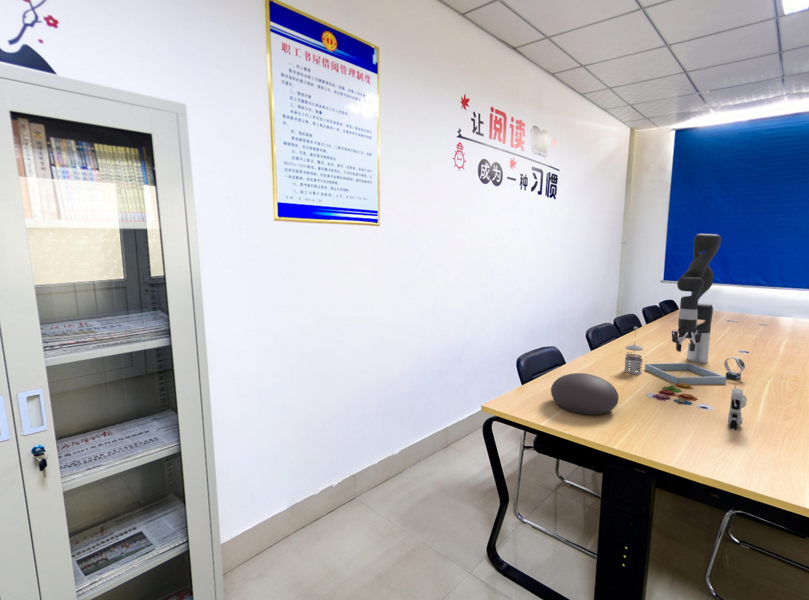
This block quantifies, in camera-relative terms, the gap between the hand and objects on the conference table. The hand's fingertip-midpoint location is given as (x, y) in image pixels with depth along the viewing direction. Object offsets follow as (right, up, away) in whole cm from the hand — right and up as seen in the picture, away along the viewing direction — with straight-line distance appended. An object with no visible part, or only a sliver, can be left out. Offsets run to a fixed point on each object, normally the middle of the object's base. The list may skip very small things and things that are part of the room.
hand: (685, 351), depth 206 cm
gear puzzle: (-18, -18, -23) cm, 34 cm away
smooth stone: (-68, -20, -39) cm, 80 cm away
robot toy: (-20, -21, -57) cm, 64 cm away
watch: (+23, -14, -1) cm, 27 cm away
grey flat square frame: (0, -13, +2) cm, 14 cm away
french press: (-22, -13, +8) cm, 27 cm away
